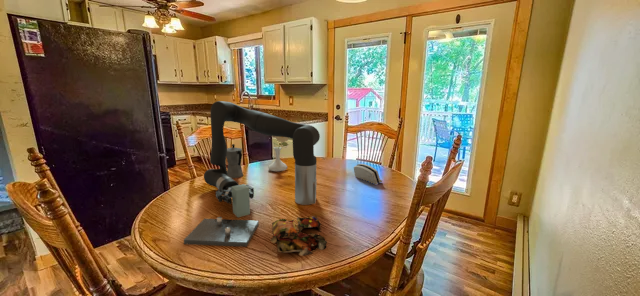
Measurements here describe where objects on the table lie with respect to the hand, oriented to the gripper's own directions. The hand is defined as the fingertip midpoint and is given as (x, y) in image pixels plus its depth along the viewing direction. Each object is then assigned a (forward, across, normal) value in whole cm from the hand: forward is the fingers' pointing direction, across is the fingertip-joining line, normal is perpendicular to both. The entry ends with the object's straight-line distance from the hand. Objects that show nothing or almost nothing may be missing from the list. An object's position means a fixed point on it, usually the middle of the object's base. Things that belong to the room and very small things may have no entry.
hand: (241, 198), depth 102 cm
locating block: (-1, 0, +6) cm, 7 cm away
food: (+26, +9, +7) cm, 28 cm away
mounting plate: (+10, -10, +6) cm, 16 cm away
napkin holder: (0, +70, +7) cm, 71 cm away
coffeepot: (-46, +14, +7) cm, 49 cm away
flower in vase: (-42, +40, +7) cm, 58 cm away
